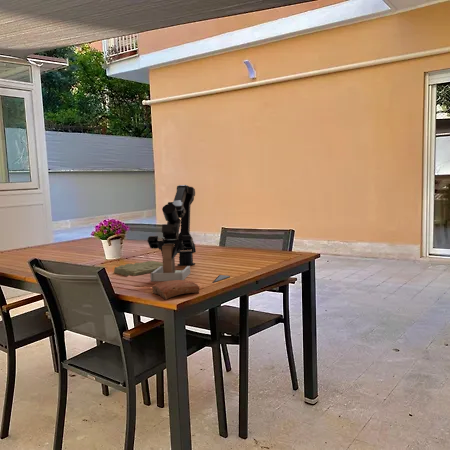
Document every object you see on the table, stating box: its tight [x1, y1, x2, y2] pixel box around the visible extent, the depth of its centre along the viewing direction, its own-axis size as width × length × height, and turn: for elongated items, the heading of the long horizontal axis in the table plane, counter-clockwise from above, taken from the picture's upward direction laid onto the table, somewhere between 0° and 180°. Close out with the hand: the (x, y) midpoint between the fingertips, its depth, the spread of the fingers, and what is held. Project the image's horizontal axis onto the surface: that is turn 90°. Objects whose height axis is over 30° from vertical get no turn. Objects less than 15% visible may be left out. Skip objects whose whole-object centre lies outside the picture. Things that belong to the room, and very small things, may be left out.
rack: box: [149, 265, 191, 282], centre depth 187 cm, size 15×13×4 cm
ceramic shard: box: [152, 279, 201, 300], centre depth 164 cm, size 15×6×15 cm
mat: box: [211, 274, 231, 284], centre depth 186 cm, size 12×12×1 cm
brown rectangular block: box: [161, 244, 176, 273], centre depth 184 cm, size 6×4×12 cm, turn 173°
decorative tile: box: [113, 260, 163, 277], centre depth 206 cm, size 19×20×4 cm
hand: (167, 258), depth 182 cm, fingers closed on brown rectangular block, 3 cm apart
